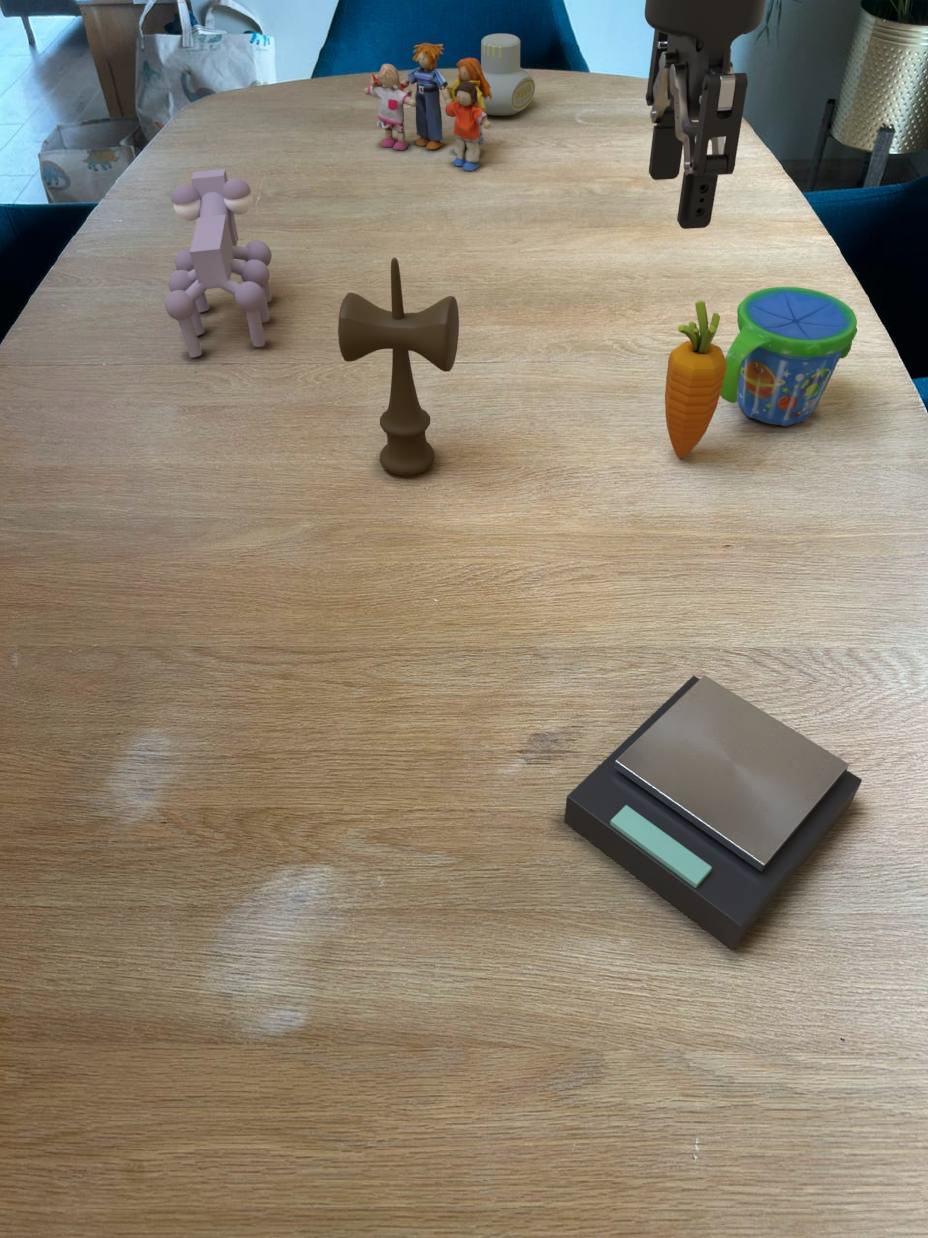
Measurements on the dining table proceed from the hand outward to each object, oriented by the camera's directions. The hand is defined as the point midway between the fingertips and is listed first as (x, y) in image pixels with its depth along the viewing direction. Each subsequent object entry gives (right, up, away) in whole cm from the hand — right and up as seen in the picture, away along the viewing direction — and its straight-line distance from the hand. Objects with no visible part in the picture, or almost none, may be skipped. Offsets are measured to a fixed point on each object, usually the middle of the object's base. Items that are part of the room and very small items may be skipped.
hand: (677, 200), depth 73 cm
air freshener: (-10, +49, +83) cm, 97 cm away
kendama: (-21, -16, +20) cm, 33 cm away
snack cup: (+15, -10, +26) cm, 31 cm away
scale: (0, -43, -7) cm, 44 cm away
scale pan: (+1, -40, -9) cm, 41 cm away
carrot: (+5, -16, +20) cm, 26 cm away
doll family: (-19, +38, +73) cm, 84 cm away
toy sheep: (-42, +4, +40) cm, 58 cm away
